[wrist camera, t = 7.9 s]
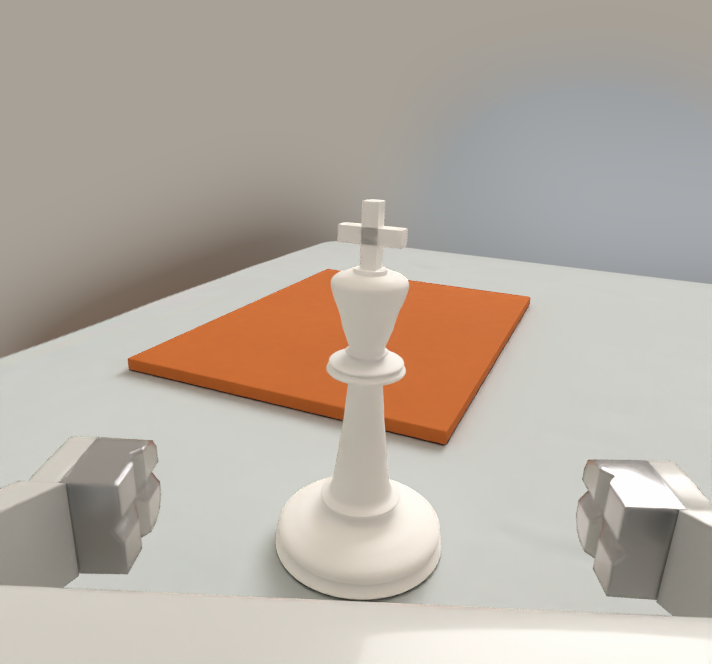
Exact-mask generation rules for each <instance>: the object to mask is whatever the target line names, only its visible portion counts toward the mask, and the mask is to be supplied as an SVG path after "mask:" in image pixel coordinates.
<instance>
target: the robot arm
mask: <svg viewBox="0 0 712 664" xmlns="http://www.w3.org/2000/svg"><path fill="white" fill-rule="evenodd" d="M157 463H158V455H157V447H156V445H155V443H154V442H153V440H138V439H121V438H105V437H102V438H100V437H91V436H74V437H70V438H69V439H68V440H67V441H66V442H65V443H64V444H63V445H62V446H61V447H60V448H59V449H58V450H57V451H56V452H55V453H54V454H53V455H52V456H51V457H50V458H49V459H48V460H47V461H46V462H45V463H44V464H43V465H42V466H41V467H40V468H39V469H38V470H37V471H36V473H35V474H34V475H33V476H32V477H31V478H30V479H29V480H28V481H17V482H15V483H12V484H10V485H7V486H5V487H2V488H0V664H712V503H711V502H710V501H709V500H708V499H707V498H706V496H705V495H704V494H703V493H702V492H701V491H700V490H699V489H698V487H697V486H696V485H695V484H694V483H693V482H692V481H691V480H690V479H689V477H688V476H687V475H686V474H685V473H684V472H683V471H682V470H681V468H680V467H679V466H678V465H677V464H676V463H674V462H671V461H646V460H588V461H587V464H586V466H585V468H584V473H583V478H582V480H583V482H584V484H585V486H586V487H587V489H588V491H587V492H586V493H585V494H584V495H583V496H582V497H581V498H580V499H579V500H578V506H577V513H576V523H577V533H578V537H579V541H580V543H581V545H582V547H583V550H584V551H585V552H586V553H587V554H589V555H590V556H592V557H593V558H595V560H594V565H593V570H594V572H595V574H596V576H597V578H598V580H599V582H600V584H601V586H602V588H603V590H604V592H605V594H606V596H611V597H624V598H638V599H652V600H657V601H656V602H657V603H658V604H659V605H661V606H662V607H663V608H664V609H665V610H667V611H668V612H669V613H670V614H671V615H672V616H663V615H641V614H619V613H598V612H576V611H554V610H532V609H510V608H489V607H467V606H445V605H423V604H402V603H380V602H358V601H337V600H315V599H293V598H272V597H250V596H228V595H206V594H185V593H163V592H141V591H120V590H98V589H76V588H63V587H64V586H66V585H67V584H68V583H70V582H71V581H73V580H74V579H75V578H77V577H78V576H79V573H86V574H128V573H129V571H130V569H131V568H132V566H133V564H134V562H135V560H136V559H137V557H138V555H139V553H140V551H141V549H142V542H141V538H142V537H143V536H145V535H147V534H148V533H150V532H151V531H152V529H153V527H154V525H155V523H156V521H157V517H158V513H159V509H160V501H161V488H160V481H159V480H158V479H157V478H156V477H155V475H154V474H153V473H152V471H153V469H154V468H155V466H156V464H157Z"/></svg>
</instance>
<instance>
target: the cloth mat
mask: <svg viewBox="0 0 712 664" xmlns="http://www.w3.org/2000/svg"><path fill="white" fill-rule="evenodd" d="M338 272H340V271H338V270H331V269H326V270H324V271H322V272H320V273H318V274H315V275H313V276H311V277H309V278H306V279H304V280H302V281H300V282H297V283H295V284H293V285H291V286H289V287H286V288H284V289H282V290H280V291H277V292H275V293H273V294H271V295H268V296H266V297H264V298H262V299H260V300H257V301H255V302H253V303H251V304H248V305H246V306H244V307H242V308H239V309H237V310H235V311H233V312H231V313H228V314H226V315H224V316H222V317H219V318H217V319H215V320H213V321H210V322H208V323H206V324H204V325H202V326H199V327H197V328H195V329H193V330H190V331H188V332H186V333H184V334H181V335H179V336H177V337H175V338H173V339H170V340H168V341H166V342H164V343H161V344H159V345H157V346H155V347H152V348H150V349H148V350H146V351H144V352H141V353H139V354H137V355H135V356H132V357H130V358H128V365H129V369H131V370H135V371H139V372H143V373H147V374H152V375H156V376H160V377H164V378H168V379H172V380H177V381H181V382H185V383H189V384H193V385H198V386H202V387H206V388H210V389H214V390H218V391H223V392H227V393H231V394H235V395H239V396H244V397H248V398H252V399H256V400H260V401H265V402H269V403H273V404H277V405H281V406H285V407H290V408H294V409H298V410H302V411H306V412H311V413H315V414H319V415H323V416H327V417H331V418H336V419H340V420H343V418H344V411H345V402H346V395H347V388H348V384H347V383H343V382H341V381H338V380H336V379H334V378H333V377H331V376H330V375H329V374H328V372H327V369H326V366H327V364H328V362H329V358H330V356H331V355H332V354H333V353H335V352H337V351H339V350H342V349H346V347H348V346H349V344H348V341H347V339H346V336H345V333H344V330H343V327H342V321H341V317H340V313H339V310H338V307H337V304H336V302H335V300H334V296H333V293H332V289H331V279H332V277H333V276H334V275H335V274H336V273H338ZM408 282H409V290H408V293H407V296H406V298H405V301H404V303H403V305H402V307H401V309H400V311H399V314H398V316H397V319H396V322H395V325H394V329H393V331H392V333H391V336H390V338H389V340H388V342H387V344H386V347H385V348H387V349H388V351H391V352H393V353H396V354H397V355H399V356H400V357H401V358H402V359H403V361H404V366H405V369H406V373H405V375H404V377H403V378H402V379H400V380H399V381H397V382H394V383H391V384H388V385H383V400H384V422H385V430H386V431H390V432H394V433H398V434H403V435H407V436H411V437H415V438H419V439H424V440H428V441H432V442H436V443H440V444H446V443H447V441H448V440H449V438H450V436H451V435H452V433H453V431H454V430H455V428H456V426H457V425H458V423H459V421H460V420H461V418H462V416H463V415H464V413H465V411H466V410H467V408H468V406H469V405H470V403H471V401H472V400H473V398H474V396H475V395H476V393H477V391H478V390H479V388H480V386H481V384H482V383H483V381H484V379H485V378H486V376H487V374H488V373H489V371H490V369H491V368H492V366H493V364H494V363H495V361H496V359H497V358H498V356H499V354H500V353H501V351H502V349H503V348H504V346H505V344H506V343H507V341H508V339H509V338H510V336H511V334H512V333H513V331H514V329H515V328H516V326H517V324H518V323H519V321H520V319H521V318H522V316H523V314H524V313H525V311H526V309H527V308H528V306H529V304H530V297H526V296H519V295H512V294H505V293H498V292H490V291H483V290H476V289H469V288H461V287H454V286H447V285H440V284H432V283H425V282H418V281H411V280H408Z"/></svg>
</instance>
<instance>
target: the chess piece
mask: <svg viewBox="0 0 712 664" xmlns="http://www.w3.org/2000/svg"><path fill="white" fill-rule="evenodd" d="M384 214H385V201H384V200H372V199H368V200H364V201H362V223H361V224H358V223H348V222H344V223H341V224H338V242H346V243H354V244H361V248H360V265H357V266H354V267H353V268H349V269H345V270H342V271H340V272H338V273H336V274H335V275H334V276H333V277H332V279H331V289H332V293H333V296H334V300H335V302H336V304H337V307H338V310H339V313H340V317H341V321H342V327H343V330H344V333H345V336H346V339H347V341H348V344H349V346H348V347H346V349H342V350H339V351H337V352H335V353H333V354H332V355H331V356H330V358H329V362H328V364H327V366H326V369H327V372H328V374H329V375H330V376H331V377H333V378H334V379H336V380H338V381H341V382H343V383H347V384H348V388H347V395H346V402H345V411H344V418H343V424H342V430H341V436H340V442H339V448H338V454H337V459H336V465H335V470H334V474H333V476H332V477H329V478H325V479H322V480H319V481H316V482H313V483H311V484H309V485H307V486H305V487H304V488H302V489H300V490H299V491H298V492H296V493H295V494H294V495H293V496H292V497H291V498H290V499H289V500H288V501H287V502H286V504H285V505H284V507H283V509H282V511H281V513H280V516H279V521H278V530H277V534H276V550H277V553H278V556H279V559H280V561H281V562H282V564H283V565H284V567H285V568H286V569H287V571H288V572H289V573H290V574H291V575H292V576H293V577H295V578H296V579H297V580H298V581H300V582H301V583H303V584H304V585H306V586H308V587H310V588H312V589H314V590H316V591H318V592H321V593H324V594H327V595H331V596H334V597H339V598H345V599H355V600H370V599H380V598H385V597H390V596H394V595H397V594H400V593H403V592H405V591H408V590H410V589H412V588H414V587H415V586H417V585H418V584H420V583H421V582H423V581H424V580H425V579H426V578H427V577H428V576H429V575H430V574H431V573H432V572H433V570H434V569H435V567H436V566H437V564H438V561H439V559H440V555H441V538H440V524H439V520H438V517H437V515H436V513H435V511H434V509H433V508H432V506H431V505H430V504H429V503H428V502H427V500H426V499H424V498H423V497H422V496H421V495H420V494H418V493H417V492H416V491H414V490H412V489H411V488H409V487H407V486H405V485H403V484H401V483H398V482H396V481H393V480H391V479H390V478H389V471H388V460H387V448H386V436H385V422H384V400H383V385H388V384H391V383H394V382H397V381H399V380H400V379H402V378H403V377H404V375H405V373H406V369H405V366H404V361H403V359H402V358H401V357H400V356H399V355H397V354H396V353H393V352H391V351H388V349H387V348H385V347H386V344H387V342H388V340H389V338H390V336H391V333H392V331H393V329H394V325H395V322H396V319H397V316H398V314H399V311H400V309H401V307H402V305H403V303H404V301H405V298H406V296H407V293H408V290H409V282H408V280H407V279H406V278H405V277H404V276H403V275H402V274H400V273H398V272H396V271H393V270H389V269H388V268H386V267H384V266H382V253H383V247H389V248H398V249H402V248H404V247H405V246H407V232H408V229H407V228H399V227H389V226H384Z"/></svg>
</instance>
